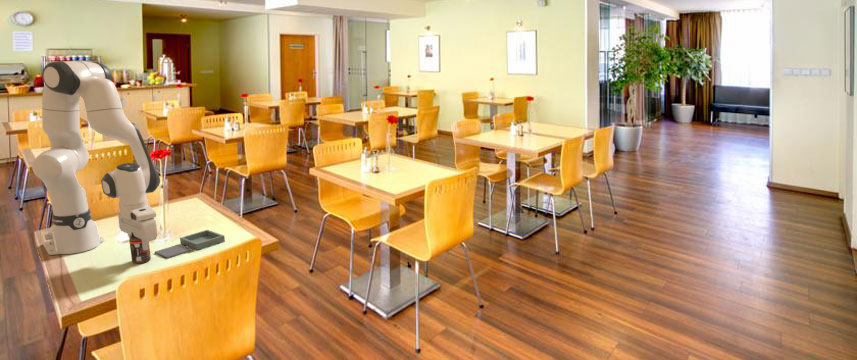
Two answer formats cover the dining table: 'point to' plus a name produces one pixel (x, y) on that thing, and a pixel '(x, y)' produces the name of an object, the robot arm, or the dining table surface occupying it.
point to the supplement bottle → (138, 251)
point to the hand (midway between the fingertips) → (140, 247)
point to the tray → (202, 239)
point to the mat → (172, 251)
